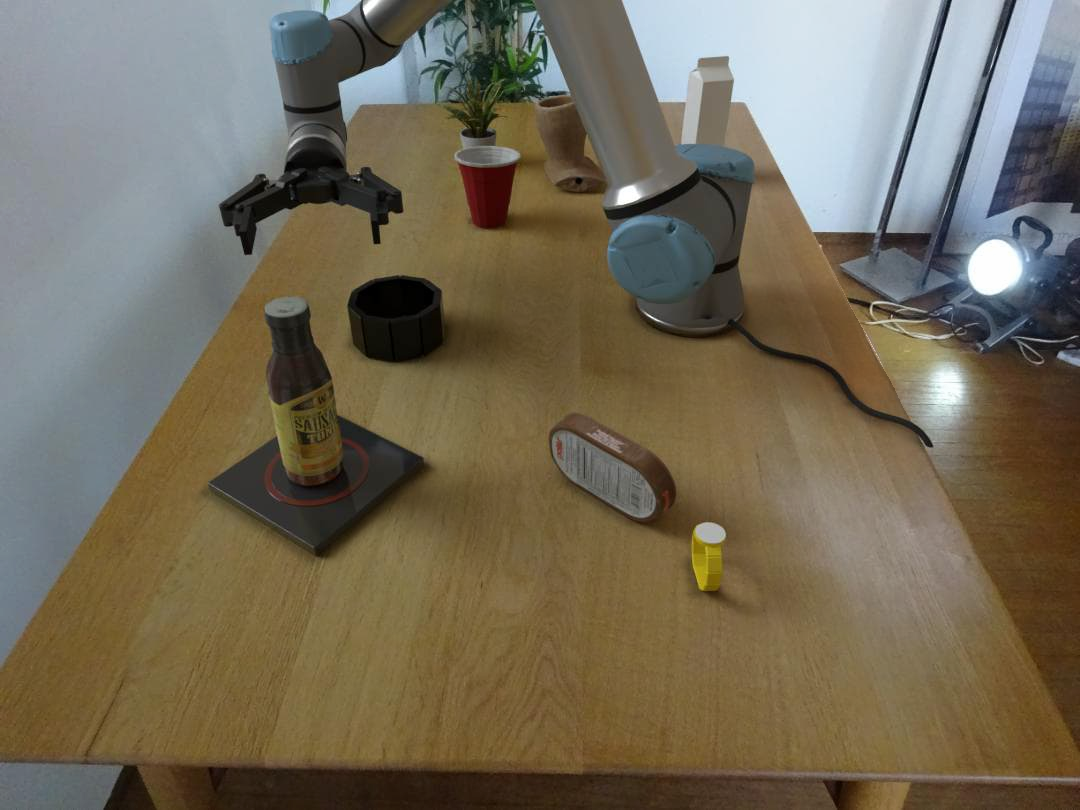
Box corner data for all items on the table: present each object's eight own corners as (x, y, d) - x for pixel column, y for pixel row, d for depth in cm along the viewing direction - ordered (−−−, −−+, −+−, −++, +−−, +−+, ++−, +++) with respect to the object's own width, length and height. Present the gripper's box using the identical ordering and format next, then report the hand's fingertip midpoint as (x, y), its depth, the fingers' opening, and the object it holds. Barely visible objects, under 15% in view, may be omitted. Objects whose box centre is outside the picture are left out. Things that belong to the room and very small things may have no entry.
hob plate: (424, 465, 89) (423, 456, 88) (316, 556, 78) (313, 547, 77) (322, 414, 96) (320, 405, 95) (209, 491, 85) (206, 481, 84)
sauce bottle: (312, 498, 83) (274, 334, 70) (273, 473, 86) (231, 311, 73) (360, 464, 87) (332, 304, 75) (321, 441, 90) (288, 283, 78)
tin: (673, 523, 82) (683, 461, 77) (655, 540, 80) (664, 478, 75) (561, 457, 90) (563, 397, 85) (543, 471, 88) (543, 410, 83)
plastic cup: (524, 209, 142) (524, 142, 135) (517, 236, 134) (516, 166, 126) (463, 206, 143) (460, 139, 136) (452, 233, 134) (448, 163, 127)
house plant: (477, 144, 168) (473, 61, 158) (530, 158, 161) (530, 73, 152) (431, 164, 159) (424, 78, 149) (486, 180, 152) (482, 91, 142)
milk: (718, 183, 152) (738, 60, 139) (689, 186, 151) (706, 63, 137) (705, 171, 157) (722, 51, 143) (676, 174, 156) (691, 53, 142)
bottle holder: (463, 329, 111) (460, 291, 107) (401, 372, 103) (396, 332, 99) (397, 304, 116) (393, 266, 112) (334, 343, 108) (327, 304, 104)
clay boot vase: (530, 166, 158) (530, 87, 149) (590, 163, 160) (593, 85, 150) (542, 197, 146) (543, 114, 137) (606, 194, 148) (611, 111, 139)
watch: (724, 602, 74) (734, 558, 70) (694, 603, 74) (703, 559, 70) (710, 552, 79) (718, 509, 75) (682, 553, 79) (689, 510, 75)
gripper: (417, 186, 107) (431, 259, 90) (221, 200, 103) (198, 279, 87) (411, 129, 102) (425, 195, 86) (206, 142, 99) (179, 214, 82)
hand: (311, 238), depth 86 cm, fingers open, 13 cm apart
